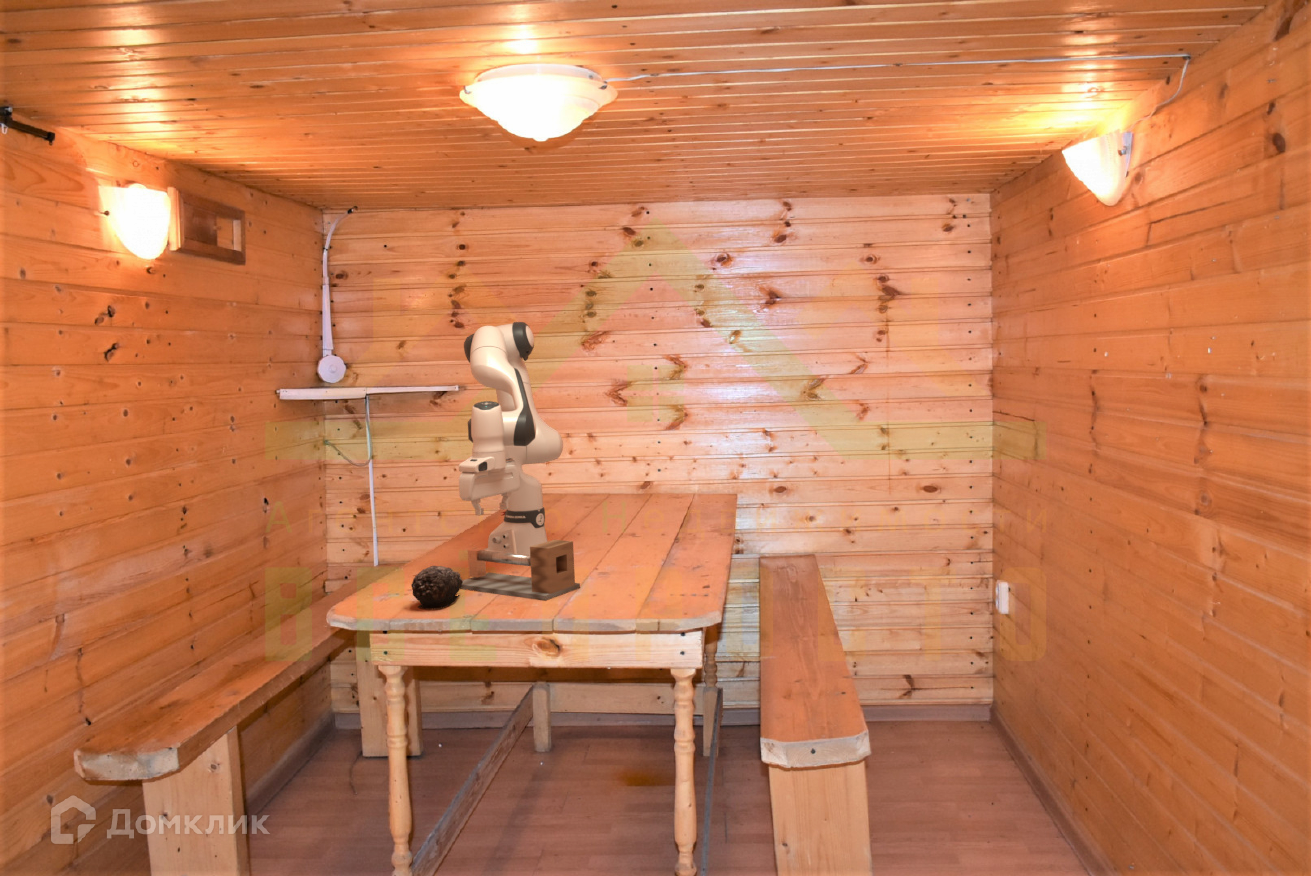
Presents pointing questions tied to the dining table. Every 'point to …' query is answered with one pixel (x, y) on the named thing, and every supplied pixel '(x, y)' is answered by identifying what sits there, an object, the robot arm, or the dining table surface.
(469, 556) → the hook rod
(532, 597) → the eye post
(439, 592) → the pine cone
